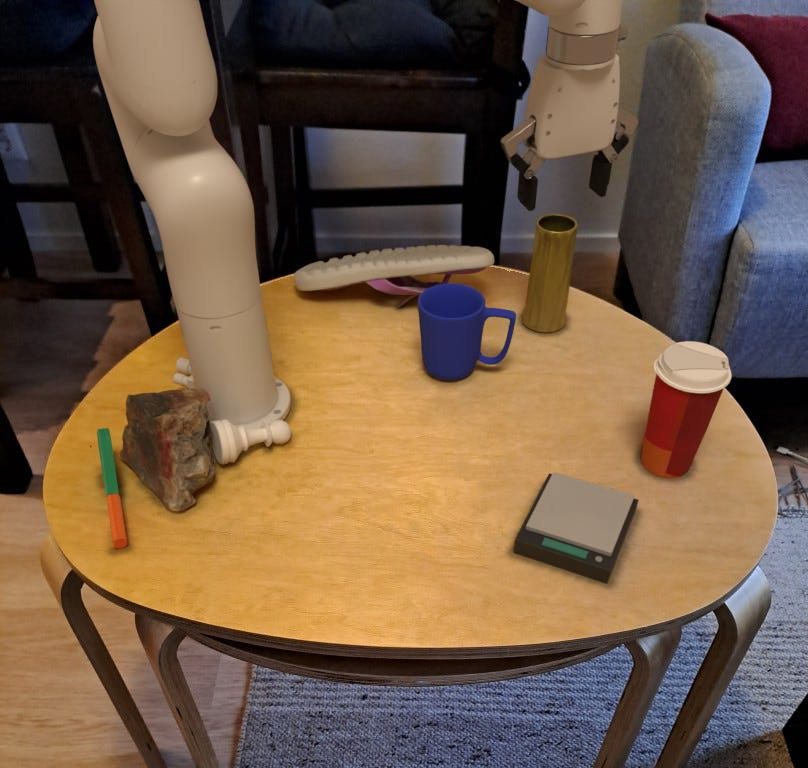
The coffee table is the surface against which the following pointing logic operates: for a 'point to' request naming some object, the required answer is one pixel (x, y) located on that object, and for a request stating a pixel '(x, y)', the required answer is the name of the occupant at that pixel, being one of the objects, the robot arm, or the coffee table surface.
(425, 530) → the coffee table surface
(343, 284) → the sandal
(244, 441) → the chess pawn
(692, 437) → the paper cup
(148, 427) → the rock
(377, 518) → the coffee table surface
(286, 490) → the coffee table surface
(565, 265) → the vase
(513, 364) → the coffee table surface
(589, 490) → the scale
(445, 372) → the mug
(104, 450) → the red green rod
